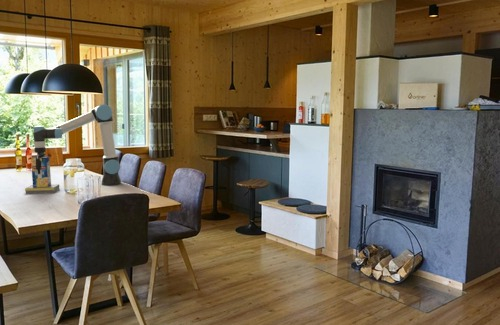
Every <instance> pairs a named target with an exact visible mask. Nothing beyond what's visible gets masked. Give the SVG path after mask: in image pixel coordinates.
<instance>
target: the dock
mask: <svg viewBox="0 0 500 325" xmlns="http://www.w3.org/2000/svg"><path fill="white" fill-rule="evenodd" d="M24 188H25V189H24V190H25V194H30V195H31V194H55V193H56V192H58V191H60V184H55V183H54V184H51V186H49V187H33V184H31V185H28V186H27V187H24Z"/></svg>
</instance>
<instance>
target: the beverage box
mask: <svg viewBox="0 0 500 325" xmlns="http://www.w3.org/2000/svg"><path fill="white" fill-rule="evenodd" d="M50 158H51V157H50V156H46V155H45V157H41V158H40V161H41V171H42V178H38V174H37V170H36V156H33V157H30V164H31V176H32V177H31V179H32V185H33V187H49V186H51V185H52V179H51V178H52V177H51V176H52V175H51V174H52V173H51V161H50V160H51V159H50ZM38 168H39V167H38Z"/></svg>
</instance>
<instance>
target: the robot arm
mask: <svg viewBox="0 0 500 325" xmlns="http://www.w3.org/2000/svg"><path fill="white" fill-rule="evenodd" d="M92 122H96V123H97V124H98V125H99V128H100V136H101V143H102V146H103V147H102V149H103V156H102V169H103V172H102V173H103V175H102V179H101V185H102V186H117V185H118V186H119V185H120V184H122V181H121V177H120V175H119V171H120V169H121V164H120V160H119V155H118V154H117V153H116V147H115V139H114V132H113V128H112V127H113V126H112V123H113V122H114V119H113V109H112V107H111V106H109V105H108V104H104V103H103V104H99V105H97V106H95V107H94V108H92V109H90V111H89V112H86V113H84V114H82V115H79V116H78V117H75V118H73V119H70V120H68V121H65V122H64V123H61V124H59V125H57V126H56V125H55V126H54V127H51V128H45V126H44V125H37V126H36V125H35V126H33V127H32V128H33V129H32V130H33V132H32V134H33V146H34V148H33V149H34V153H36V155H35V157H36V170H37V174H38V178H42V171H41V161H40V158H41V157H45V156H46V152H47V150H46V149H47V148H46V140H50V139H52V140H53V139H56V140H57V139H58V140H59V139H62V138H63V135H64V134H67V133H69V132H71V131H74V130H76V129H78V128H81V127H83V126H85V125H88V124H90V123H92ZM38 167H39V168H38Z"/></svg>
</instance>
